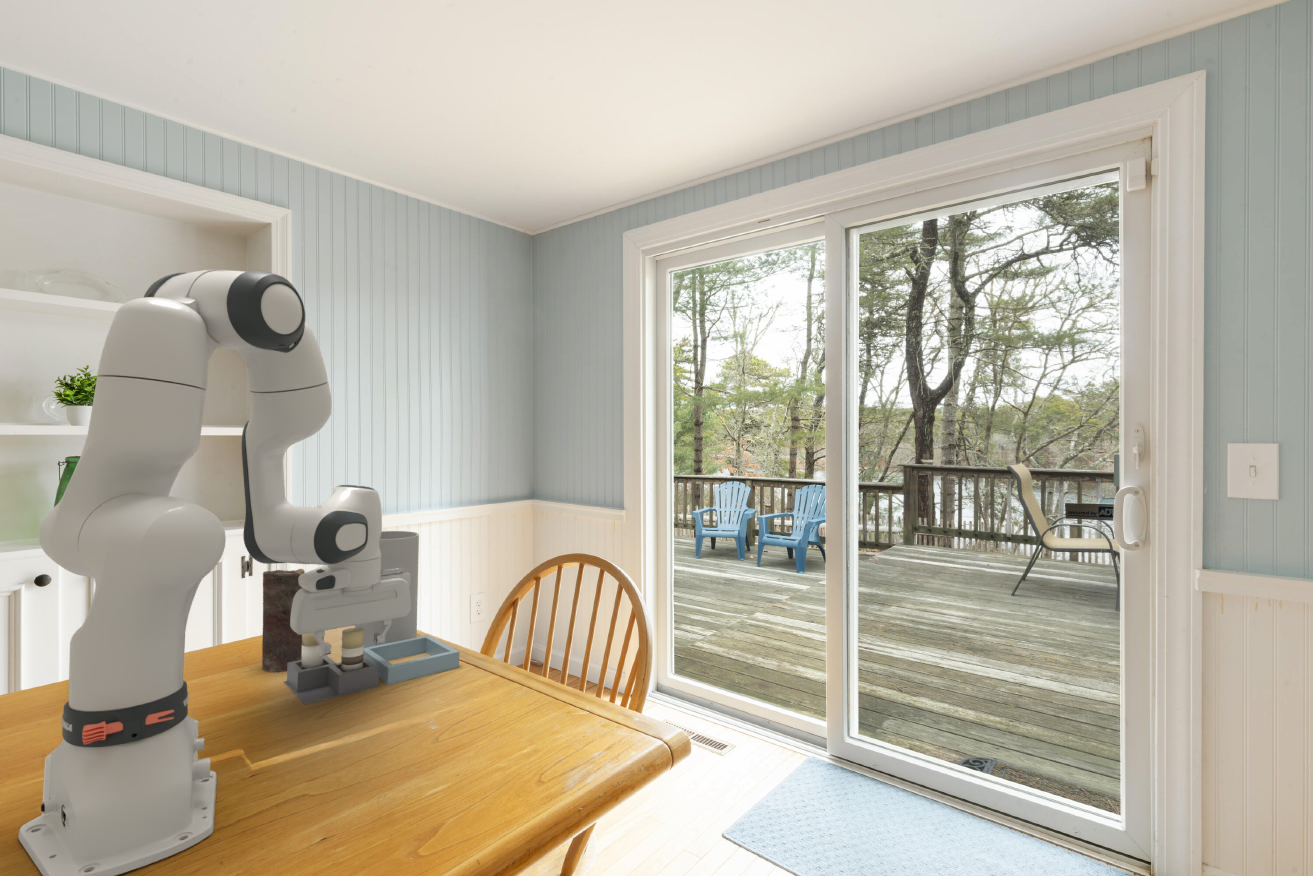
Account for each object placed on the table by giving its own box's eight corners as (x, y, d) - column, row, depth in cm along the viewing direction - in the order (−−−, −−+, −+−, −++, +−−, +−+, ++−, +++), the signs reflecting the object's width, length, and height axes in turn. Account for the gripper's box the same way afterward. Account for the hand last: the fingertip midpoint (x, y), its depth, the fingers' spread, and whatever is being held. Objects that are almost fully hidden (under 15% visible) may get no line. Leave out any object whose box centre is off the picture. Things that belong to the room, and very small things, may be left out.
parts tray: (458, 672, 128) (459, 651, 128) (388, 690, 118) (388, 667, 118) (428, 654, 138) (428, 635, 138) (360, 669, 128) (360, 648, 128)
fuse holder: (380, 691, 117) (381, 666, 117) (305, 710, 108) (305, 684, 108) (354, 671, 127) (355, 648, 127) (283, 687, 118) (283, 662, 118)
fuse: (325, 682, 118) (326, 628, 118) (304, 687, 115) (305, 632, 116) (319, 677, 121) (320, 624, 121) (298, 682, 118) (299, 627, 118)
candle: (251, 674, 124) (254, 571, 124) (283, 662, 131) (286, 564, 131) (282, 679, 122) (285, 574, 122) (313, 666, 129) (316, 567, 129)
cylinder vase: (341, 653, 137) (343, 536, 137) (386, 637, 148) (388, 529, 148) (385, 662, 132) (388, 541, 132) (428, 645, 144) (431, 533, 144)
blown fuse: (366, 685, 117) (367, 630, 117) (344, 690, 115) (346, 634, 115) (358, 679, 120) (360, 626, 120) (337, 684, 117) (339, 630, 117)
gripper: (403, 563, 127) (402, 633, 127) (288, 577, 113) (286, 656, 112) (417, 568, 122) (415, 641, 122) (298, 584, 108) (296, 665, 108)
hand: (352, 648), depth 117 cm, fingers open, 8 cm apart
